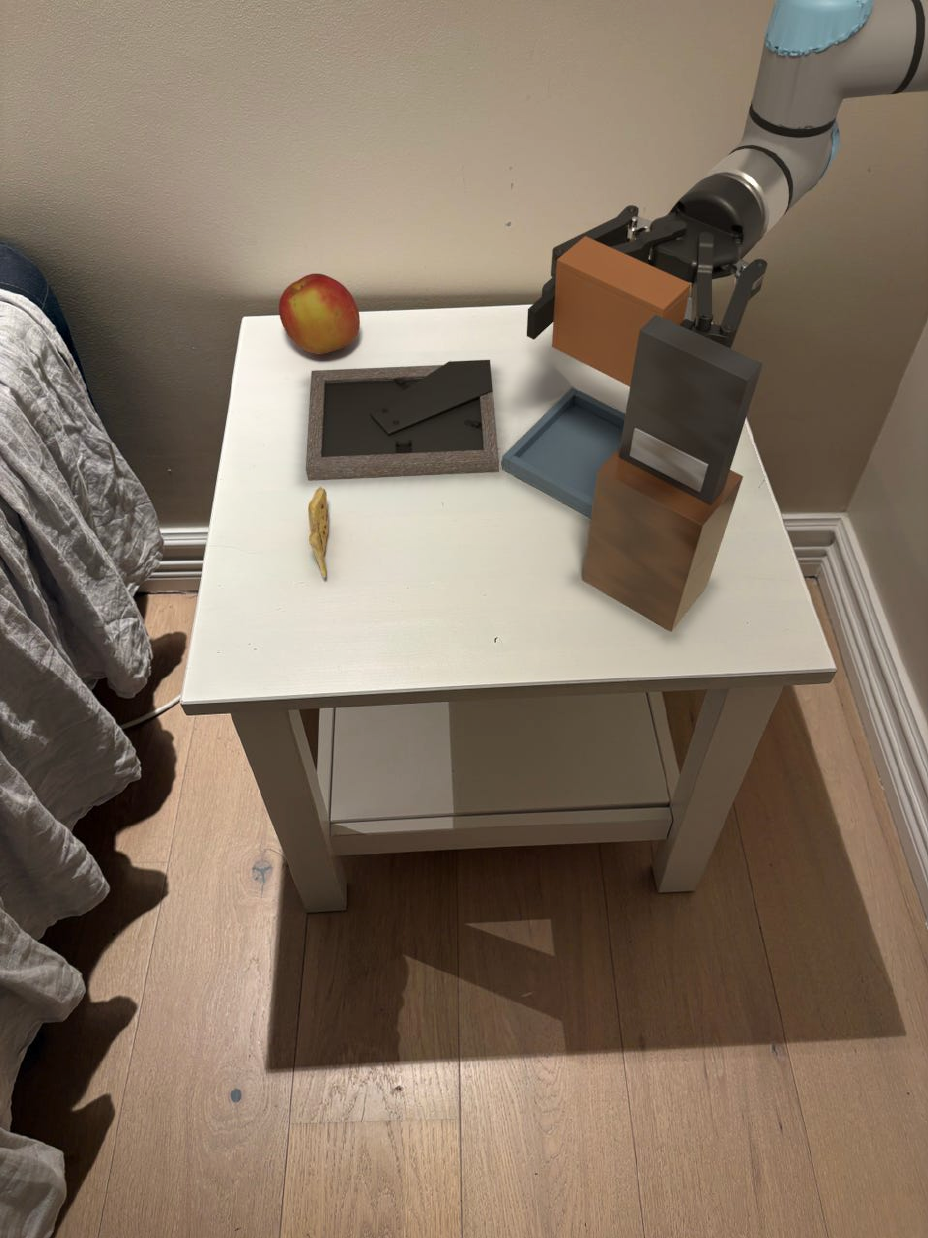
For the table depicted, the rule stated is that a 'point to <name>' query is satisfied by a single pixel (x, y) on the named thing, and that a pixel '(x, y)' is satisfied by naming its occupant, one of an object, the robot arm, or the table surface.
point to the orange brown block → (610, 305)
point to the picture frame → (402, 421)
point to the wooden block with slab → (670, 473)
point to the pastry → (318, 526)
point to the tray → (567, 449)
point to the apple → (319, 314)
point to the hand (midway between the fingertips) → (585, 351)
